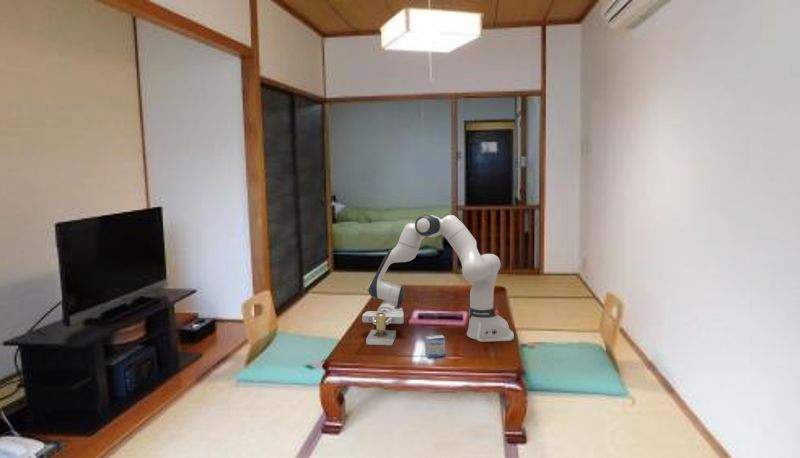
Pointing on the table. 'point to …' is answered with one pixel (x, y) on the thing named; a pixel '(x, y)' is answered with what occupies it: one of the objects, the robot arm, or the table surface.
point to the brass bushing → (380, 324)
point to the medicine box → (434, 346)
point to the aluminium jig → (381, 338)
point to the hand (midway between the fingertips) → (380, 322)
